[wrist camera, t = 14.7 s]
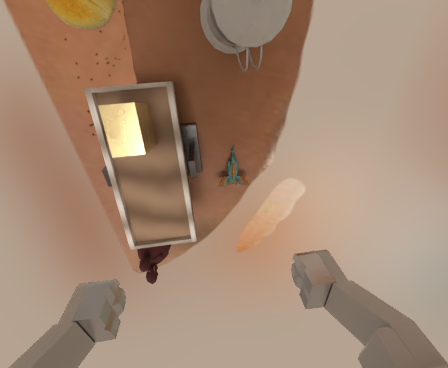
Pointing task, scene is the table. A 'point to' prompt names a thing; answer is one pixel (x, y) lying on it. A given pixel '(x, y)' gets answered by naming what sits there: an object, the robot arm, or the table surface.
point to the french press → (243, 24)
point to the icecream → (152, 260)
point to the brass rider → (128, 128)
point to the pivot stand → (189, 151)
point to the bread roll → (83, 12)
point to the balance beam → (149, 169)
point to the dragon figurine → (233, 174)
